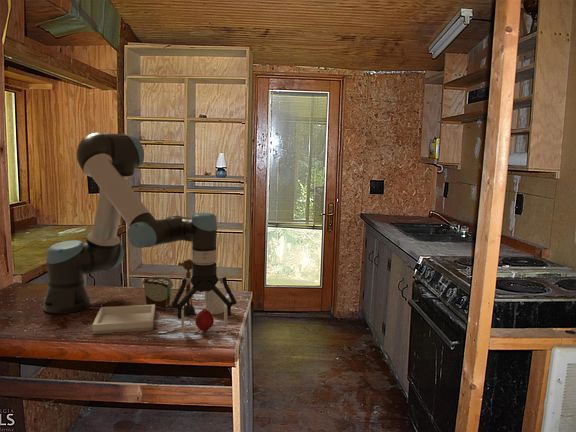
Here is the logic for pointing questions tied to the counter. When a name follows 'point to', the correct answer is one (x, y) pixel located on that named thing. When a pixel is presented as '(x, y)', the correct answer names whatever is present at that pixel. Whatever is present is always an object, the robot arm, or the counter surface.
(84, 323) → the counter surface
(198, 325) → the onion
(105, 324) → the tray
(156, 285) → the food container
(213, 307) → the white cup
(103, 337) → the counter surface
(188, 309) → the wooden tabletop sculpture
